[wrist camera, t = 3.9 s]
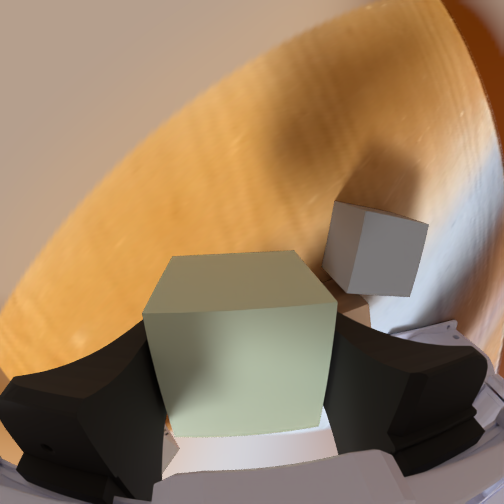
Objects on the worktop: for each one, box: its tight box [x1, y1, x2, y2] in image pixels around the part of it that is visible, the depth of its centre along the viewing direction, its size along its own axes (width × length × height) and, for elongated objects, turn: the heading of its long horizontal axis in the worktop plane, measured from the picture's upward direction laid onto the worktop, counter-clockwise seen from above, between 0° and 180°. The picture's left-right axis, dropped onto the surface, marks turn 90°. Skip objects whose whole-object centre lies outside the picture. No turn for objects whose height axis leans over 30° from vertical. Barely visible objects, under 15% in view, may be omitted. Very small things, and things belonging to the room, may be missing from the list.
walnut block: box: [322, 279, 371, 328], centre depth 20 cm, size 5×5×5 cm
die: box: [162, 424, 180, 473], centre depth 20 cm, size 8×9×10 cm
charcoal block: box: [322, 201, 429, 297], centre depth 19 cm, size 5×5×5 cm
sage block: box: [142, 250, 338, 437], centre depth 10 cm, size 5×5×5 cm
